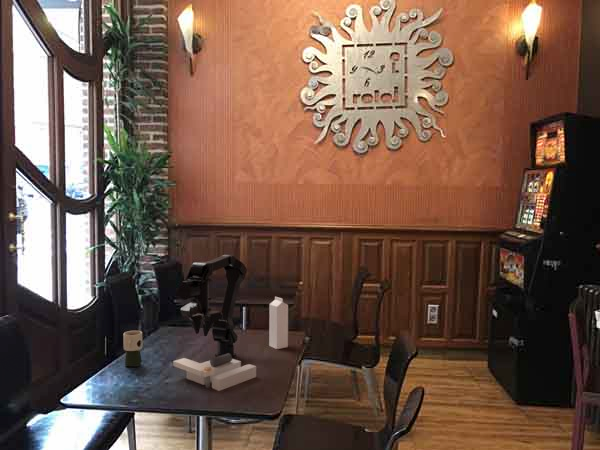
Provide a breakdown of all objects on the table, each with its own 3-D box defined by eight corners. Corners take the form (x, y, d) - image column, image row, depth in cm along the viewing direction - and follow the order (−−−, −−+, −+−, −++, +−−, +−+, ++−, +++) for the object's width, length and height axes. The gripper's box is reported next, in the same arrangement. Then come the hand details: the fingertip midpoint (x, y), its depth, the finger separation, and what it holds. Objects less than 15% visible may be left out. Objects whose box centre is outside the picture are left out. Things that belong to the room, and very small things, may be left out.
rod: (212, 368, 194) (216, 365, 192) (208, 360, 195) (213, 357, 193) (228, 362, 200) (233, 359, 199) (225, 355, 201) (229, 351, 200)
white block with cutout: (184, 379, 193) (184, 367, 192) (223, 365, 207) (223, 355, 207) (217, 391, 181) (217, 379, 181) (256, 376, 195) (256, 365, 195)
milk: (276, 349, 229) (276, 299, 227) (269, 346, 233) (269, 297, 232) (288, 347, 232) (288, 297, 230) (280, 343, 237) (280, 295, 235)
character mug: (139, 370, 202) (138, 336, 201) (120, 370, 201) (119, 337, 200) (145, 360, 212) (145, 329, 211) (127, 361, 212) (127, 329, 211)
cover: (204, 377, 182) (204, 370, 182) (173, 365, 194) (173, 359, 194) (215, 373, 186) (215, 367, 186) (184, 362, 198) (184, 356, 197)
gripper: (169, 294, 203) (169, 334, 204) (200, 302, 191) (200, 344, 192) (192, 290, 211) (192, 328, 212) (223, 297, 199) (223, 337, 200)
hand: (201, 334), depth 204 cm, fingers open, 5 cm apart
